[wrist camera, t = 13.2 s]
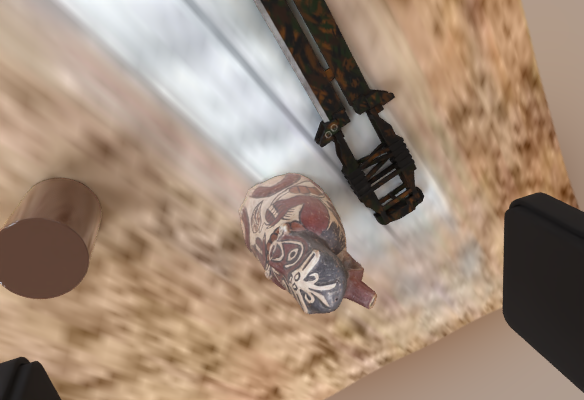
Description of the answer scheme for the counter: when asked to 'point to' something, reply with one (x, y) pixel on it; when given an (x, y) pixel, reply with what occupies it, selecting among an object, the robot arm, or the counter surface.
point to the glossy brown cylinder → (49, 239)
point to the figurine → (302, 243)
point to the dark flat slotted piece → (332, 109)
